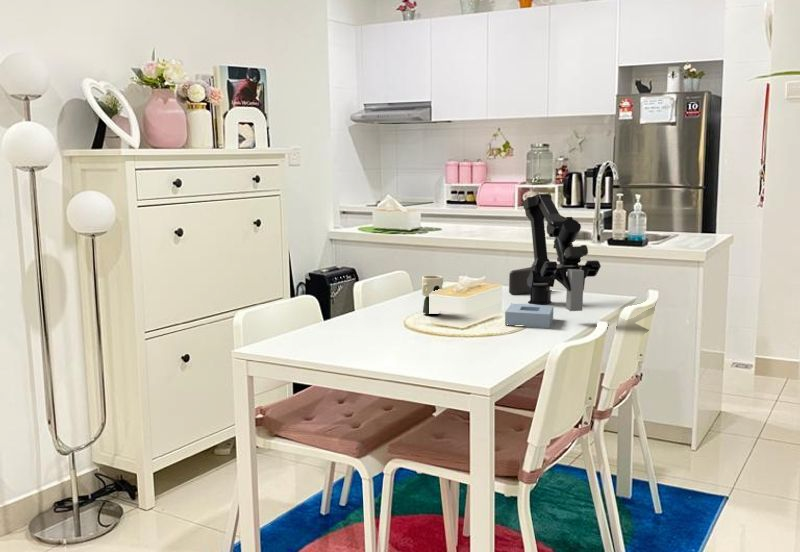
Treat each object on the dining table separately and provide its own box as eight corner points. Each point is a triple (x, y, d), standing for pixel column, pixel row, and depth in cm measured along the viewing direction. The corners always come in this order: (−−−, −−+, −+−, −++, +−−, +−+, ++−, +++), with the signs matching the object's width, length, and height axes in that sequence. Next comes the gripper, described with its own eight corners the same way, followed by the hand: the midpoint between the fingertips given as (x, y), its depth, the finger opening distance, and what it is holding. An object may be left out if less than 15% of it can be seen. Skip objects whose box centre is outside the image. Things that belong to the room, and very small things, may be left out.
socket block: (510, 316, 275) (511, 303, 274) (553, 318, 271) (553, 305, 270) (505, 325, 262) (505, 311, 261) (549, 328, 258) (549, 314, 257)
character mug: (432, 318, 271) (432, 280, 269) (414, 316, 275) (414, 278, 273) (449, 313, 280) (449, 275, 278) (432, 310, 284) (432, 273, 282)
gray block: (565, 308, 266) (567, 269, 264) (577, 308, 267) (579, 268, 264) (570, 311, 262) (571, 271, 260) (582, 310, 263) (583, 270, 261)
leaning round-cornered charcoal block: (517, 296, 310) (518, 271, 309) (507, 294, 313) (508, 270, 312) (543, 291, 321) (543, 267, 320) (533, 289, 324) (534, 265, 323)
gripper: (544, 236, 263) (555, 276, 254) (599, 235, 266) (612, 275, 257) (536, 257, 272) (546, 296, 263) (589, 256, 275) (601, 294, 266)
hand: (576, 290), depth 262 cm, fingers closed on gray block, 4 cm apart
